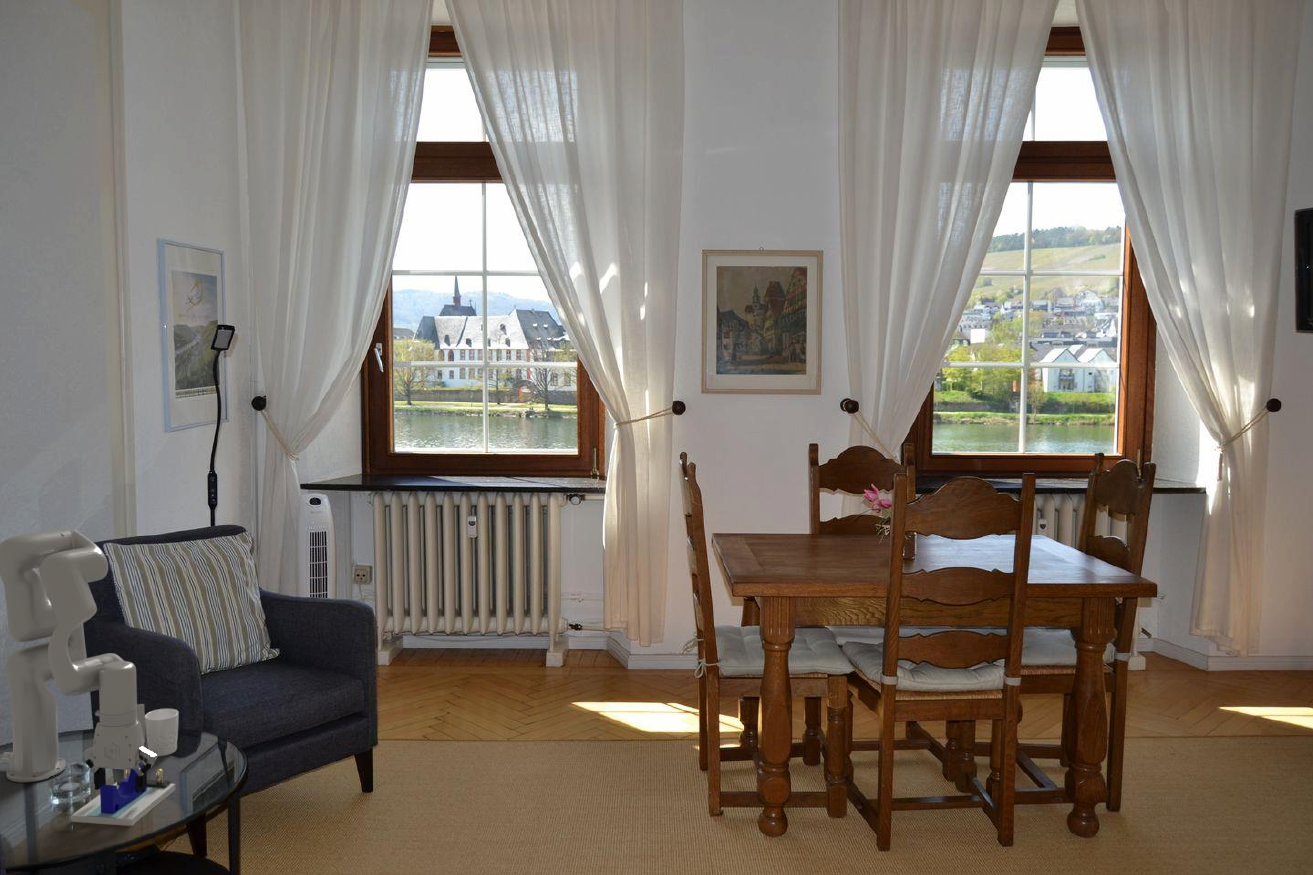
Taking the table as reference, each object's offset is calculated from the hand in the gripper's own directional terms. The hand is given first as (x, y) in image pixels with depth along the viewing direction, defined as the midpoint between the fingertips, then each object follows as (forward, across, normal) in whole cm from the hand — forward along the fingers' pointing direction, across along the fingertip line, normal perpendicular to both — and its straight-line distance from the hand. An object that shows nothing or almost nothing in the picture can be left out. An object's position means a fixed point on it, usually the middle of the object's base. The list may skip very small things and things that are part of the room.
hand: (120, 788), depth 238 cm
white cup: (+5, -8, +31) cm, 32 cm away
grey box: (+5, -19, +35) cm, 40 cm away
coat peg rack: (+3, 0, +9) cm, 9 cm away
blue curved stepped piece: (+3, 0, 0) cm, 3 cm away
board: (+5, 0, +1) cm, 5 cm away
